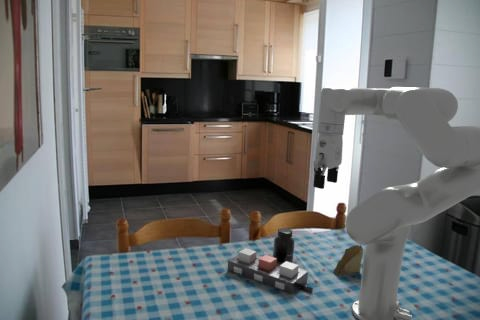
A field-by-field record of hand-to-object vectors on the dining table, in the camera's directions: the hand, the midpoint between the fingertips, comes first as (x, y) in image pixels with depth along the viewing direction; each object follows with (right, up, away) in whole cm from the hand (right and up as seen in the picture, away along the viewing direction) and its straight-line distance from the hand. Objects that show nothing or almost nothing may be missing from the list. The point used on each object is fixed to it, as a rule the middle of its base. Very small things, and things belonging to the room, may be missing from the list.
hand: (325, 184), depth 131 cm
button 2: (-18, -29, +4) cm, 34 cm away
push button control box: (-16, -30, +3) cm, 34 cm away
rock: (+9, -30, +11) cm, 33 cm away
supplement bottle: (-12, -28, +14) cm, 33 cm away
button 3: (-24, -28, +8) cm, 37 cm away
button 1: (-12, -30, 0) cm, 32 cm away
